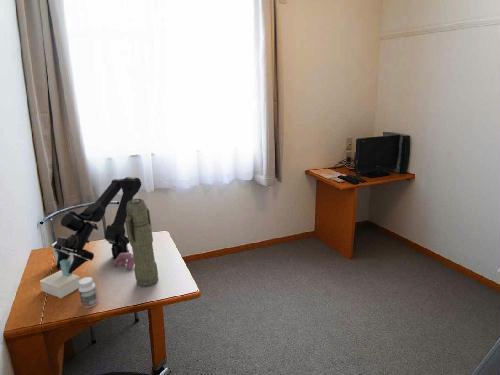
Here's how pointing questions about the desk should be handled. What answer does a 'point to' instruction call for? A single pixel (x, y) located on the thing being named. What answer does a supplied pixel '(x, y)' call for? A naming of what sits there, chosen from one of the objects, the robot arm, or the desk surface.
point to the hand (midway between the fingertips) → (63, 271)
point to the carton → (61, 289)
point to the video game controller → (123, 257)
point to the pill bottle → (88, 292)
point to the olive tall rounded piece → (141, 242)
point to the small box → (57, 254)
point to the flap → (60, 276)
